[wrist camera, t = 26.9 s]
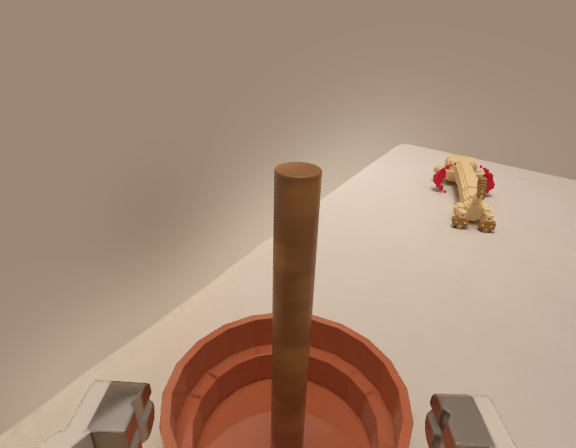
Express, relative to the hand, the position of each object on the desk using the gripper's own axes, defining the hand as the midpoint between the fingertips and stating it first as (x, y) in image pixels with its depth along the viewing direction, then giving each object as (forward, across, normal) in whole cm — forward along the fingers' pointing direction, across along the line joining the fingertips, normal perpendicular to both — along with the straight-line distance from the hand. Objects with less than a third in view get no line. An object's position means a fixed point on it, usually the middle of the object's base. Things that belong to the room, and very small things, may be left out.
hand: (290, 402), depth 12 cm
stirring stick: (+10, 0, +16) cm, 19 cm away
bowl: (+10, 0, +17) cm, 19 cm away
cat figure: (+57, -29, +17) cm, 66 cm away
